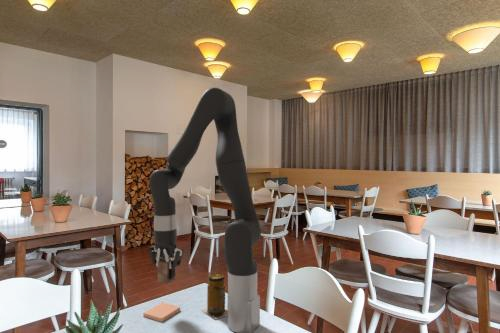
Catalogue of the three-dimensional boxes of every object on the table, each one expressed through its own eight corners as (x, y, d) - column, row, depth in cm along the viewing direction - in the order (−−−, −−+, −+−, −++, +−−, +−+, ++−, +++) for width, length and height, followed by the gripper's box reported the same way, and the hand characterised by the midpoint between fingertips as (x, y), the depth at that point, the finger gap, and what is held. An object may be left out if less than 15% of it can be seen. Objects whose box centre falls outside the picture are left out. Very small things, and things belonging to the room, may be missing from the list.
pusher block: (174, 279, 111) (174, 259, 111) (166, 283, 108) (166, 262, 107) (166, 278, 113) (165, 258, 113) (157, 282, 109) (157, 261, 109)
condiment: (219, 304, 116) (219, 271, 115) (233, 313, 109) (233, 278, 109) (201, 310, 111) (201, 276, 111) (215, 320, 104) (215, 283, 104)
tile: (180, 307, 111) (161, 318, 103) (180, 311, 111) (161, 323, 103) (162, 302, 115) (143, 313, 107) (162, 306, 115) (143, 317, 107)
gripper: (188, 227, 110) (189, 277, 110) (157, 224, 117) (158, 271, 117) (174, 231, 103) (175, 285, 104) (141, 228, 110) (142, 278, 110)
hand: (166, 277), depth 110 cm, fingers closed on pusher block, 4 cm apart
